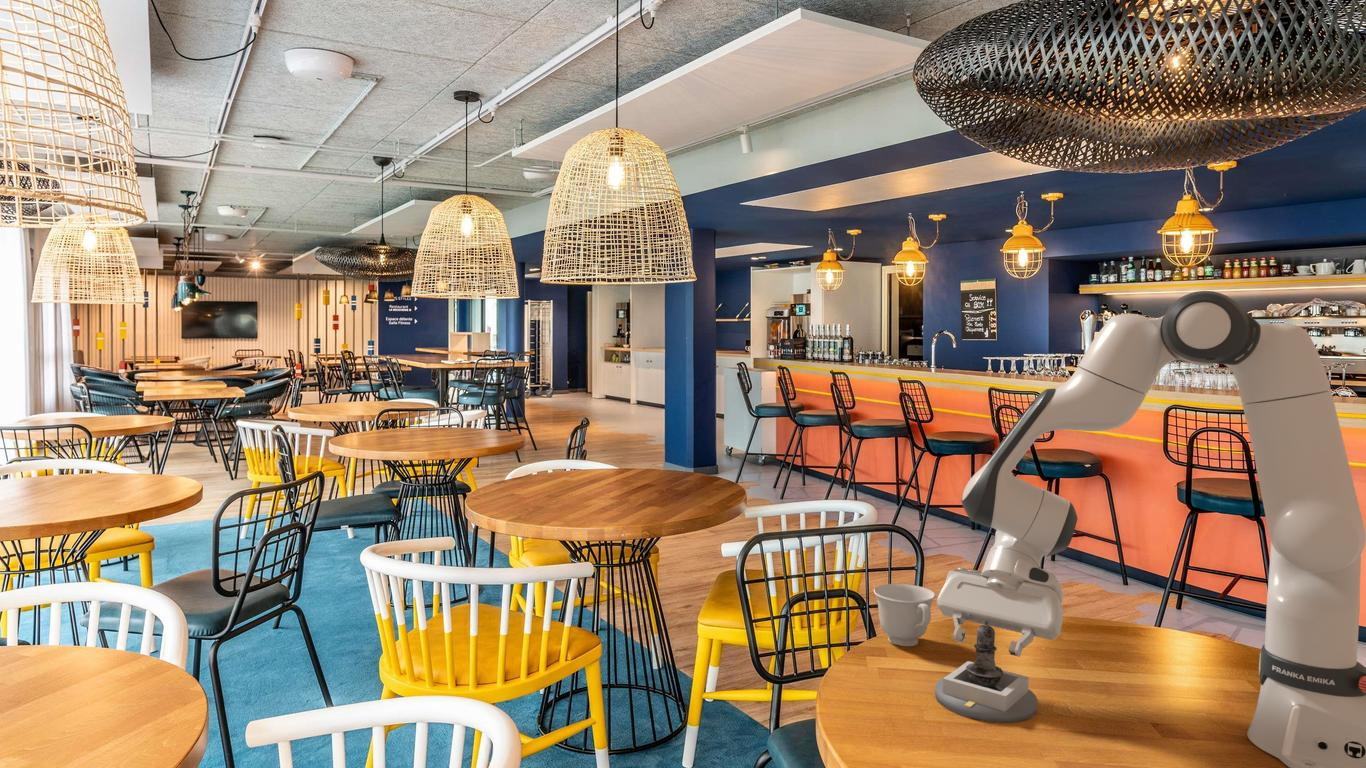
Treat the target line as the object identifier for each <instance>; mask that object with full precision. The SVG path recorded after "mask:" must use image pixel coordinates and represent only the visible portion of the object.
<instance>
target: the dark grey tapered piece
mask: <svg viewBox="0 0 1366 768" xmlns="http://www.w3.org/2000/svg"><path fill="white" fill-rule="evenodd" d="M984 623H985V624H980V625H979V626H978V627H977V629H976V643H975V644H974V645H973V647H974V649H975V659H974V661H973V662H974V663H971V664H969V665H967V667H966V669H967V670H968V675H969V677H970V679H971V680H972V682H973V683H972V684H975V685H978V686H982V687H986V688H989V689H993V690H996V691H1000V690H999V689H998V688H997V687H996V686H995V685H997V684H998V683H999V681H1000V679H1001V675H1003V669H1002V668H1001V667H999V666H997V665H996V662H995V653H996V651H997V647H996V646H995V637H996V636H995V635H996V633H995V632H996V631H995V629H994V627H993V626H989V625H988V622H987V620H986V621H985V622H984ZM1000 692H1001V691H1000Z"/></svg>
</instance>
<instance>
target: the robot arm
mask: <svg viewBox="0 0 1366 768" xmlns="http://www.w3.org/2000/svg"><path fill="white" fill-rule="evenodd" d="M1171 362H1180V363H1188V364H1192V365H1200V366H1206V365H1207V366H1208V365H1213V364H1215V365H1224V366H1225V367H1227V368H1228V369H1229V370H1230V371H1231V373H1232V374H1233V376H1234V378H1235V380H1236V383H1237V387H1238V391H1239V394H1240V401H1241V404H1242V409H1243V411H1244V412H1243V413H1244V417H1245V422H1246V425H1247V430H1248V434H1249V439H1250V443H1251V447H1252V451H1253V456H1254V462H1255V468H1256V474H1257V478H1258V479H1257V480H1258V483H1259V489H1260V496H1261V499H1262V505H1263V509H1264V516H1265V520H1266V521H1265V522H1266V526H1267V529H1268V535H1269V538H1270V554H1269V568H1268V583H1267V595H1266V611H1265V613H1266V615H1265V631H1264V634H1265V635H1264V644H1262V647H1261V649H1260V652H1259V661H1258V677H1259V683H1260V689H1259V695H1258V701H1257V704H1256V707H1255V708H1256V709H1255V712H1254V714H1253V716H1252V717H1253V718H1252V721H1251V723H1250V725H1249V728H1248V729H1247V731H1246V732H1247V733H1246V735H1247V738H1248V740H1249V741H1250V742H1251V743H1252V744H1254V745H1255V746H1256V747H1257V748H1258V749H1261V750H1262V751H1264V752H1266V753H1268V754H1270V755H1271V756H1273V757H1275V758H1277V759H1278V760H1280V761H1281V762H1282V763H1283V764H1284V765H1286V767H1288V768H1366V666H1364V665H1363V664H1362V663H1360V662H1359V661H1358V646H1359V645H1358V644H1359V642H1358V641H1359V628H1360V611H1361V609H1360V608H1361V606H1360V605H1361V604H1360V603H1361V599H1360V598H1361V570H1362V568H1361V567H1362V564H1361V563H1362V553H1363V551H1364V549H1365V546H1366V529H1365V525H1364V520H1363V516H1362V513H1361V512H1362V511H1361V508H1360V504H1359V501H1358V496H1357V492H1356V488H1355V485H1354V484H1355V483H1354V479H1353V475H1352V470H1351V468H1350V464H1349V460H1348V455H1347V451H1346V447H1345V442H1344V437H1343V435H1342V430H1341V426H1340V422H1339V417H1338V413H1337V409H1336V405H1335V401H1334V398H1333V393H1332V389H1331V385H1330V381H1329V377H1328V375H1327V371H1326V369H1325V367H1324V364H1323V361H1322V359H1321V356H1320V354H1319V352H1318V349H1317V347H1316V345H1315V343H1314V341H1313V339H1312V337H1311V336H1310V333H1309V332H1307V330H1305V328H1302V327H1301V326H1299V325H1296V324H1292V323H1286V322H1285V323H1284V322H1272V323H1268V324H1265V323H1264V324H1260V323H1259V322H1258V321H1257V320H1256V319H1255V318H1253V316H1251V315H1250V313H1248V312H1247V311H1246V310H1245V309H1244V308H1243V307H1242V306H1241V304H1239V303H1238V302H1237V301H1235V300H1234V299H1233V298H1231V297H1229V296H1228V295H1225V294H1223V293H1221V292H1217V291H1213V290H1198V291H1193V292H1189V293H1187V294H1185V295H1183V296H1181V297H1179V298H1178V299H1177V300H1176V301H1174V302H1173V303H1172V304H1171V305H1170V306H1169V307H1168V309H1167V310H1166V311H1165V314H1164V315H1162V316H1161V317H1157V318H1156V317H1155V318H1151V317H1146V316H1144V315H1142V314H1137V313H1121V314H1116V315H1114V316H1112V317H1111V318H1109V320H1108V321H1107V322H1106V323H1105V324H1104V325H1103V326H1102V328H1101V329H1100V330H1099V332H1098V333H1096V336H1095V337H1094V339H1093V340H1092V341H1091V343H1090V344H1089V346H1088V347H1087V349H1086V351H1085V353H1084V354H1083V356H1082V358H1081V360H1080V362H1079V364H1078V366H1077V367H1076V369H1075V371H1074V372H1073V374H1072V375H1071V376H1070V377H1069V378H1068V379H1067V380H1066V381H1065V382H1064V383H1062V384H1061V385H1059V386H1058V387H1055V388H1046V389H1045V390H1043V391H1042V392H1041V393H1039V394H1038V395H1037V396H1036V397H1035V398H1034V399H1033V400H1032V402H1031V403H1030V404H1029V405H1028V407H1027V408H1026V409H1025V411H1023V413H1022V414H1021V415H1020V416H1019V418H1018V419H1017V420H1016V421H1015V423H1014V424H1013V426H1012V427H1011V429H1010V430H1009V431H1008V433H1007V434H1006V435H1005V437H1003V439H1002V441H1001V442H1000V443H999V444H998V446H997V447H996V449H995V450H994V451H993V453H992V454H991V455H990V456H989V458H988V459H987V460H986V462H985V463H984V464H983V465H982V466H981V467H980V468H979V470H977V471H976V472H975V473H974V474H973V475H972V477H971V478H970V479H969V480H968V482H967V483H966V484H965V487H964V489H963V493H962V498H961V499H960V500H961V504H962V508H963V509H964V511H965V513H966V515H967V516H968V518H969V520H970V522H973V523H976V524H979V525H982V526H983V527H984V526H985V527H988V528H992V529H994V530H996V531H995V535H994V544H993V546H992V547H991V548H990V549H989V550H988V553H987V557H986V559H985V563H984V565H983V568H982V570H976V569H968V568H965V567H958V568H955V569H952V570H949V572H948V573H947V576H946V578H945V583H944V584H943V586H942V588H941V590H940V591H939V594H938V596H937V598H936V604H937V607H938V609H939V610H940V612H941V613H942V615H943V616H946V617H950V618H952V620H953V624H954V628H955V629H954V631H953V634H952V638H953V640H954V641H955V642H960V643H964V642H965V639H966V638H967V633H966V631H965V629H964V628H962V627H961V625H964V624H965V621H968V622H973V623H976V624H980V625H984V624H985V623H984V622H985V621H986V620H987V622H988V625H989V626H991V627H992V628H994V627H995V628H998V629H1002V630H1007V631H1011V632H1016V633H1020V634H1021V637H1020V638H1019V639H1017V641H1015V640H1011V641H1010V646H1009V647H1008V652H1009V655H1011V656H1015V657H1019V658H1020V657H1021V654H1022V652H1023V649H1025V648H1026V647H1027V646H1028V645H1029V644H1031V643H1032V642H1033V641H1034V638H1035V637H1037V638H1041V639H1045V640H1050V641H1053V640H1055V639H1056V638H1058V637H1059V636H1060V633H1061V630H1062V626H1063V618H1064V610H1063V607H1062V602H1063V601H1064V600H1063V599H1064V593H1063V589H1062V586H1061V584H1060V582H1059V579H1058V578H1057V576H1056V575H1055V574H1054V573H1051V572H1049V571H1047V570H1046V569H1043V568H1041V561H1042V559H1043V558H1044V556H1045V557H1051V556H1054V555H1055V554H1059V553H1061V552H1064V551H1065V550H1066V549H1067V548H1068V547H1069V546H1070V545H1071V541H1072V539H1073V537H1074V534H1075V533H1074V532H1075V530H1076V526H1077V524H1078V520H1079V519H1078V518H1079V517H1078V515H1077V512H1076V509H1075V506H1074V504H1073V503H1072V501H1069V500H1067V499H1066V498H1065V497H1063V496H1060V495H1058V494H1056V493H1053V492H1051V491H1049V490H1046V489H1045V488H1041V487H1038V486H1037V485H1034V484H1032V483H1030V482H1028V481H1025V480H1023V479H1021V478H1018V477H1016V476H1015V475H1013V470H1014V469H1015V467H1016V466H1017V464H1018V463H1019V462H1020V461H1021V460H1022V458H1023V457H1024V455H1025V454H1026V453H1027V451H1029V449H1030V448H1031V446H1032V445H1033V444H1034V443H1035V442H1036V440H1038V438H1039V437H1040V436H1042V435H1044V434H1046V433H1049V432H1052V431H1058V430H1060V431H1061V430H1062V431H1063V430H1064V431H1065V430H1067V431H1082V432H1102V431H1109V430H1114V429H1117V428H1119V427H1122V426H1123V425H1125V424H1126V423H1128V422H1130V420H1131V419H1132V418H1134V415H1135V414H1136V413H1137V412H1138V410H1139V409H1140V407H1141V406H1142V403H1143V402H1144V400H1145V399H1146V396H1147V394H1148V393H1149V391H1150V388H1151V387H1152V384H1153V383H1154V381H1155V379H1156V378H1157V376H1158V374H1159V373H1160V371H1161V370H1162V369H1163V368H1164V367H1165V366H1166V365H1167V364H1169V363H1171Z"/></svg>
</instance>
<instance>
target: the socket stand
mask: <svg viewBox="0 0 1366 768" xmlns="http://www.w3.org/2000/svg"><path fill="white" fill-rule="evenodd" d="M974 662H975V661H973V662H972V661H971V660H970V661H969V660H967V661H966V662H964V663H963V664H962V665H961V666H959V667H957V669H955V670H953V671H952V672H950V673H949V674H947V675H946V676H944V677H942V678H940V679H938V680H937V682H936V683H935V691H934V692H935V694H934V695H935V696H934V697H935V699H936V700H937V702H938V703H939V704H940V705H941V706H942V707H943V708H945V709H947V710H949V711H950V712H952V713H954V712H955V713H954V714H957V715H959V714H960V715H959V716H962V717H966V718H968V717H969V719H972V718H973V720H976V719H977V720H978V721H981V720H983V721H982V722H987V721H989V722H988V723H997V722H998V724H999V723H1000V724H1003V723H1005V724H1007V723H1009V724H1011V723H1019V722H1023V721H1024V722H1025V721H1027V720H1029V719H1031V718H1033V717H1034V716H1035V715H1036V714H1037V711H1038V698H1037V695H1036V694H1035V693H1034V692H1033V691H1032V690H1030V689H1029V680H1030V679H1029V678H1030V677H1029V676H1026V675H1022V674H1018V673H1015V672H1012V671H1007V670H1003V669H1002V670H1003V675H1001V679H1000V681H999V683H998V684H997V685H995V686H996V687H997V688H998V689H999V690H1000V691H1001V692H1000V691H996V690H993V689H989V688H986V687H982V686H978V685H975V684H972V683H973V682H972V680H971V679H970V677H969V675H968V670H967V669H966V667H967V665H969V664H971V663H974ZM977 720H976V721H977Z"/></svg>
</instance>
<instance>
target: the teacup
mask: <svg viewBox="0 0 1366 768" xmlns="http://www.w3.org/2000/svg"><path fill="white" fill-rule="evenodd" d="M873 593H874V595H875V597H876V600H877V609H878V618H879V625H880V628H881V629H882V631H883V632H884V633H885V634H886V635H888V641H889V643H891V644H893V645H895V646H899V647H912V646H916V645H918V643H919V642H918V641H919V640H918V638H919V639H920V638H921V637H922V636H924V635H925V633H926V632H927V629H928V626H929V624H930V623H931V616H932V613H931V607H932V603H933V601H934V599H936V594H935V593H934V592H933V590H930V589H929V588H926V587H923V586H920V585H914V584H908V583H888V584H881V585H878V586H876V587H874V589H873Z"/></svg>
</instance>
